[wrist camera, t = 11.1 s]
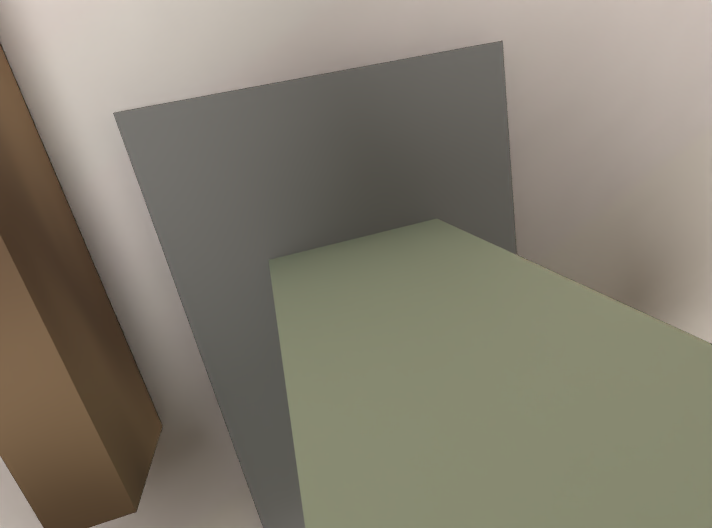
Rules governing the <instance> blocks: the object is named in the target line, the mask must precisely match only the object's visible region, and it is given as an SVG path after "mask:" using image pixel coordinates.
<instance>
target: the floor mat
mask: <svg viewBox="0 0 712 528" xmlns="http://www.w3.org/2000/svg"><path fill="white" fill-rule="evenodd" d="M113 114H114V116H115V119H116V122H117V125H118V128H119V130H120V133H121V136H122V139H123V141H124V144H125V147H126V150H127V152H128V155H129V158H130V161H131V163H132V166H133V169H134V172H135V174H136V177H137V180H138V183H139V186H140V188H141V191H142V194H143V197H144V199H145V202H146V205H147V208H148V210H149V213H150V216H151V219H152V221H153V224H154V227H155V230H156V233H157V235H158V238H159V241H160V244H161V246H162V249H163V252H164V255H165V257H166V260H167V263H168V266H169V268H170V271H171V274H172V277H173V279H174V282H175V285H176V288H177V291H178V293H179V296H180V299H181V302H182V304H183V307H184V310H185V313H186V315H187V318H188V321H189V324H190V326H191V329H192V332H193V335H194V338H195V340H196V343H197V346H198V349H199V351H200V354H201V357H202V360H203V362H204V365H205V368H206V371H207V373H208V376H209V379H210V382H211V384H212V387H213V390H214V393H215V396H216V398H217V401H218V404H219V407H220V409H221V412H222V415H223V418H224V420H225V423H226V426H227V429H228V431H229V434H230V437H231V440H232V443H233V445H234V448H235V451H236V454H237V456H238V459H239V462H240V465H241V467H242V470H243V473H244V476H245V478H246V481H247V484H248V487H249V489H250V492H251V495H252V498H253V501H254V503H255V506H256V509H257V512H258V514H259V517H260V520H261V523H262V525H263V528H305V522H304V515H303V508H302V500H301V493H300V486H299V479H298V471H297V464H296V457H295V450H294V442H293V435H292V428H291V420H290V413H289V406H288V399H287V391H286V384H285V377H284V369H283V362H282V355H281V348H280V340H279V333H278V326H277V319H276V311H275V304H274V297H273V289H272V282H271V275H270V268H269V260H271V259H275V258H279V257H283V256H287V255H291V254H295V253H299V252H303V251H307V250H311V249H315V248H319V247H323V246H327V245H331V244H336V243H340V242H344V241H348V240H352V239H356V238H360V237H364V236H368V235H372V234H376V233H380V232H384V231H388V230H392V229H396V228H400V227H404V226H409V225H413V224H417V223H421V222H425V221H429V220H433V219H439V220H441V221H444V222H446V223H448V224H450V225H452V226H455V227H457V228H459V229H461V230H463V231H465V232H468V233H470V234H472V235H474V236H476V237H479V238H481V239H483V240H485V241H487V242H490V243H492V244H494V245H496V246H498V247H501V248H503V249H505V250H507V251H509V252H511V253H514V254H516V255H517V251H516V236H515V221H514V206H513V191H512V176H511V161H510V146H509V131H508V116H507V101H506V86H505V71H504V56H503V41H498V42H493V43H488V44H482V45H477V46H471V47H466V48H461V49H455V50H450V51H444V52H439V53H434V54H428V55H423V56H417V57H412V58H407V59H401V60H396V61H390V62H385V63H380V64H374V65H369V66H364V67H358V68H353V69H347V70H342V71H337V72H331V73H326V74H320V75H315V76H310V77H304V78H299V79H293V80H288V81H283V82H277V83H272V84H266V85H261V86H256V87H250V88H245V89H240V90H234V91H229V92H223V93H218V94H213V95H207V96H202V97H196V98H191V99H186V100H180V101H175V102H169V103H164V104H159V105H153V106H148V107H142V108H137V109H132V110H126V111H121V112H115V113H113Z"/></svg>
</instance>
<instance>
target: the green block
mask: <svg viewBox="0 0 712 528" xmlns="http://www.w3.org/2000/svg"><path fill="white" fill-rule="evenodd" d="M269 268H270V275H271V282H272V289H273V297H274V304H275V311H276V319H277V326H278V333H279V340H280V348H281V355H282V362H283V369H284V377H285V384H286V391H287V399H288V406H289V413H290V420H291V428H292V435H293V442H294V450H295V457H296V464H297V471H298V479H299V486H300V493H301V500H302V508H303V515H304V522H305V528H712V344H711V343H708V342H706V341H704V340H702V339H700V338H698V337H695V336H693V335H691V334H689V333H687V332H684V331H682V330H680V329H678V328H676V327H673V326H671V325H669V324H667V323H665V322H662V321H660V320H658V319H656V318H654V317H652V316H649V315H647V314H645V313H643V312H641V311H638V310H636V309H634V308H632V307H630V306H627V305H625V304H623V303H621V302H619V301H617V300H614V299H612V298H610V297H608V296H606V295H603V294H601V293H599V292H597V291H595V290H592V289H590V288H588V287H586V286H584V285H581V284H579V283H577V282H575V281H573V280H571V279H568V278H566V277H564V276H562V275H560V274H557V273H555V272H553V271H551V270H549V269H546V268H544V267H542V266H540V265H538V264H536V263H533V262H531V261H529V260H527V259H525V258H522V257H520V256H518V255H516V254H514V253H511V252H509V251H507V250H505V249H503V248H501V247H498V246H496V245H494V244H492V243H490V242H487V241H485V240H483V239H481V238H479V237H476V236H474V235H472V234H470V233H468V232H465V231H463V230H461V229H459V228H457V227H455V226H452V225H450V224H448V223H446V222H444V221H441V220H439V219H433V220H429V221H425V222H421V223H417V224H413V225H409V226H404V227H400V228H396V229H392V230H388V231H384V232H380V233H376V234H372V235H368V236H364V237H360V238H356V239H352V240H348V241H344V242H340V243H336V244H331V245H327V246H323V247H319V248H315V249H311V250H307V251H303V252H299V253H295V254H291V255H287V256H283V257H279V258H275V259H271V260H269Z"/></svg>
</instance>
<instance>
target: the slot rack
mask: <svg viewBox="0 0 712 528" xmlns="http://www.w3.org/2000/svg"><path fill="white" fill-rule="evenodd" d="M161 429H162V424H161V422H160V420H159V417H158V415H157V412H156V410H155V408H154V405H153V403H152V401H151V398H150V396H149V394H148V391H147V389H146V387H145V384H144V382H143V380H142V377H141V375H140V372H139V370H138V368H137V365H136V363H135V361H134V358H133V356H132V354H131V351H130V349H129V347H128V344H127V342H126V340H125V337H124V335H123V332H122V330H121V328H120V325H119V323H118V321H117V318H116V316H115V314H114V311H113V309H112V307H111V304H110V302H109V299H108V297H107V295H106V292H105V290H104V288H103V285H102V283H101V281H100V278H99V276H98V274H97V271H96V269H95V267H94V264H93V262H92V259H91V257H90V255H89V252H88V250H87V248H86V245H85V243H84V241H83V238H82V236H81V234H80V231H79V229H78V227H77V224H76V222H75V219H74V217H73V215H72V212H71V210H70V208H69V205H68V203H67V201H66V198H65V196H64V194H63V191H62V189H61V187H60V184H59V182H58V179H57V177H56V175H55V172H54V170H53V168H52V165H51V163H50V161H49V158H48V156H47V154H46V151H45V149H44V147H43V144H42V142H41V139H40V137H39V135H38V132H37V130H36V128H35V125H34V123H33V121H32V118H31V116H30V114H29V111H28V109H27V106H26V104H25V102H24V99H23V97H22V95H21V92H20V90H19V88H18V85H17V83H16V81H15V78H14V76H13V74H12V71H11V69H10V66H9V64H8V62H7V59H6V57H5V55H4V52H3V50H2V48H1V45H0V456H1V458H2V459H3V461H4V463H5V464H6V466H7V468H8V469H9V471H10V473H11V474H12V476H13V478H14V479H15V481H16V483H17V484H18V486H19V488H20V489H21V491H22V493H23V494H24V496H25V498H26V499H27V501H28V503H29V504H30V506H31V507H32V509H33V511H34V512H35V514H36V516H37V517H38V519H39V521H40V522H41V524H42V526H43V527H44V528H89V527H92V526H95V525H98V524H101V523H104V522H107V521H110V520H113V519H116V518H119V517H122V516H125V515H128V514H132V513H135V512H137V509H138V505H139V502H140V499H141V495H142V492H143V489H144V485H145V482H146V479H147V476H148V472H149V469H150V466H151V462H152V459H153V456H154V452H155V449H156V446H157V442H158V439H159V436H160V433H161Z"/></svg>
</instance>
